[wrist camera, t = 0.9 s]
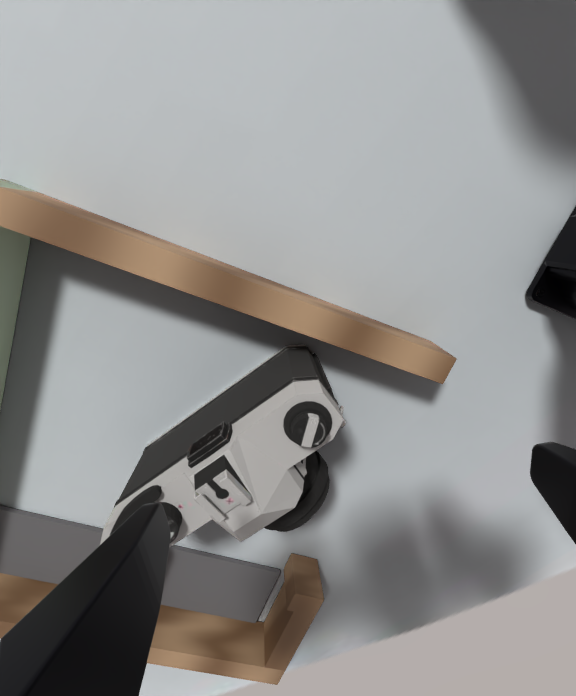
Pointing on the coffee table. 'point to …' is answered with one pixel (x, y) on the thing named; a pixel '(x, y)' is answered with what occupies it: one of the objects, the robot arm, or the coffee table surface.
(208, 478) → the camera
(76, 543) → the mats
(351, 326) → the trap box
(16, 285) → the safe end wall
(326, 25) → the coffee table surface
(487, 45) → the coffee table surface
